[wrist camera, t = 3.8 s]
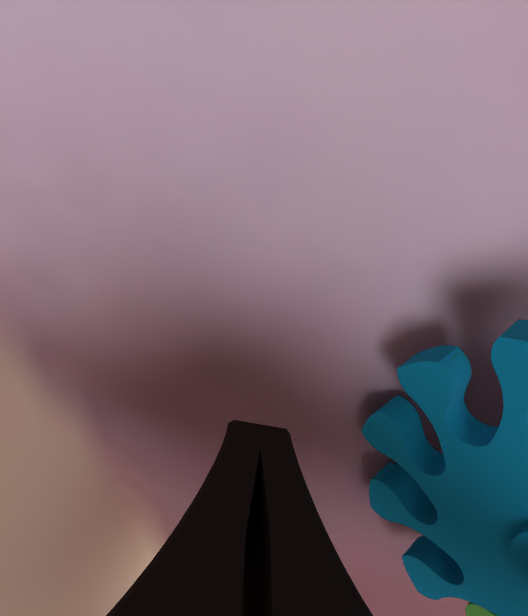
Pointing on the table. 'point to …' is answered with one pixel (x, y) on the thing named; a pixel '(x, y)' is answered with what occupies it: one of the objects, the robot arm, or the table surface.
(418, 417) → the blue virus model
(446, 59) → the table surface
